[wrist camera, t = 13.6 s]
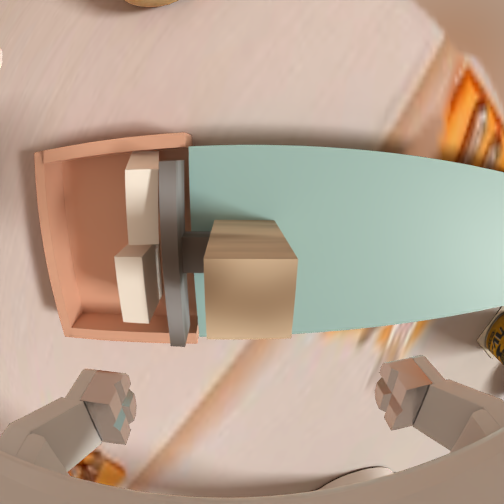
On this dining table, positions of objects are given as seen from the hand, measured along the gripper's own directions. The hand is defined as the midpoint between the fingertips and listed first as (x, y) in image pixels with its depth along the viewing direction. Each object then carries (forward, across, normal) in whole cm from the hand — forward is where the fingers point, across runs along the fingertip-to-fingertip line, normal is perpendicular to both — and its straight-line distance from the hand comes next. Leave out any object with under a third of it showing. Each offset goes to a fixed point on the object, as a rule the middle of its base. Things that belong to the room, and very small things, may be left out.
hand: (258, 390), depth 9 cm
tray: (+17, -10, +1) cm, 20 cm away
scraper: (+13, -1, +1) cm, 13 cm away
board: (+17, +13, +1) cm, 22 cm away
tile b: (+14, -6, +5) cm, 15 cm away
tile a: (+14, -7, -1) cm, 16 cm away
